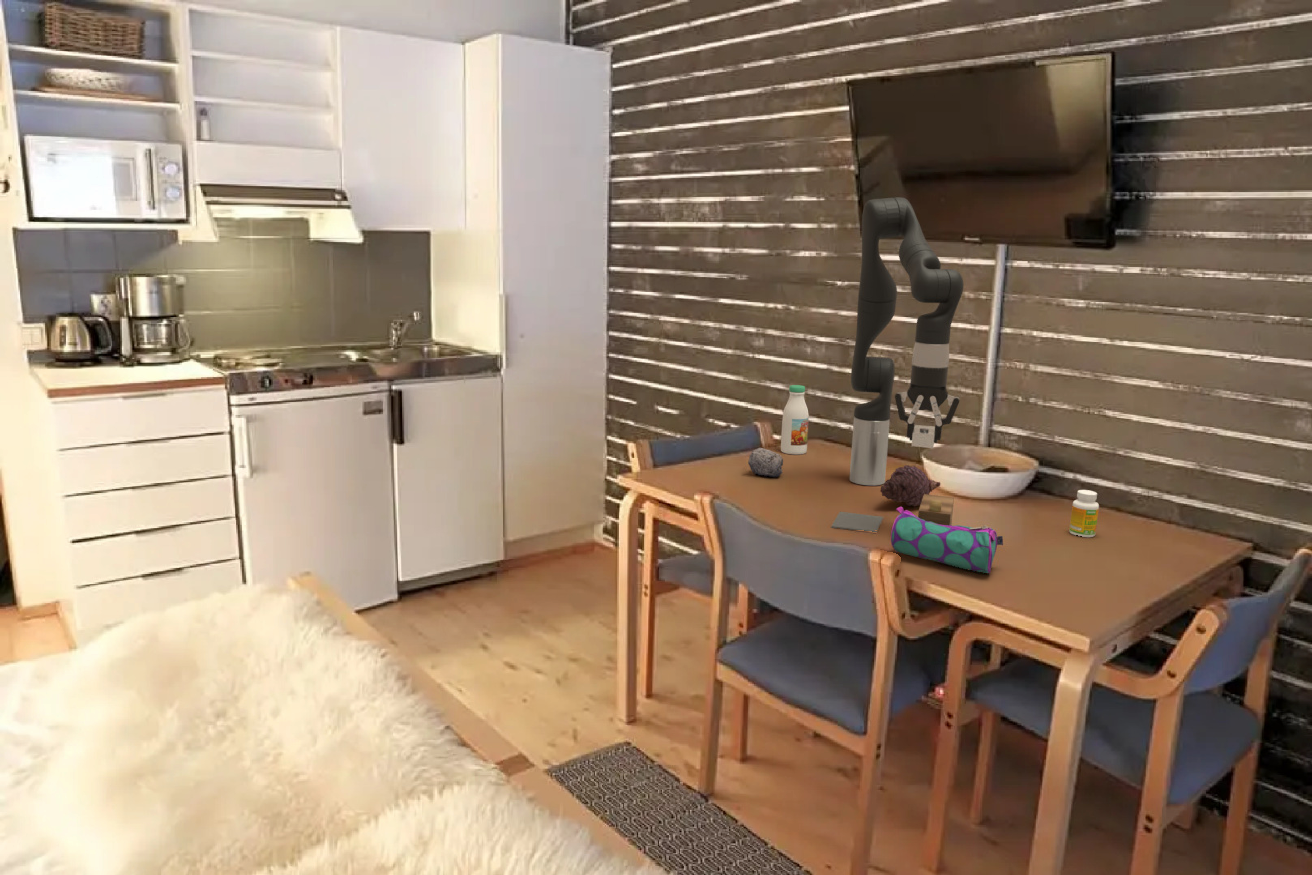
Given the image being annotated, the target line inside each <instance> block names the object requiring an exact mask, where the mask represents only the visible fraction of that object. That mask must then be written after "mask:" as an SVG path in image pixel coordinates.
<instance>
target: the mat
mask: <svg viewBox="0 0 1312 875" xmlns="http://www.w3.org/2000/svg"><path fill="white" fill-rule="evenodd" d="M883 520H884V516H880V515H879V516H878V515H871V514H863V513H862V514H861V513H855V512H854V513H853V512H846V511H839V513H838V515H836V517H835V519H834V521H833V523H832V524H831V526H830V528H831V529H837V528H840V530H845V529H849V530H848V531H853V530H864V531H872V532H877V533H878V531H879V529H880V527H879V526H881V524H882V522H883ZM878 528H879V529H878ZM875 530H878V531H875Z"/></svg>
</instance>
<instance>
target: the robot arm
mask: <svg viewBox="0 0 1312 875" xmlns="http://www.w3.org/2000/svg"><path fill="white" fill-rule="evenodd" d="M862 210H863V211H862V216H861V217H862V218H861V263H860V264H861V266H860V267H861V269H860V277H859V278H860V280H859V287H858V298H857V311H856V313H857V315H856V316H857V317H856V334H855V343H854V349H853V350H854V351H853V358H852V362H851V363H852V364H851V370H850V371H851V374H850V383H851V385H850V386H851V388H852V389H853V390H854V391H856V392H861V393H874V394H875V393H877V394H879V395H878V396H877V397H875V398H874V399H872V400H871V401H870V400H869V401H867V402H864V403H860V404H858V405H856V406H855V407H854V410H853V427H852V439H851V440H852V441H851V453H850V466H849V467H850V468H849V481H850V482H852V483H853V484H856V485H861V486H862V485H863V486H883V485H884V483H885V481H886V474H887V473H886V470H887V461H888V459H887V458H888V446H889V434H890V433H889V432H890V421H891V420H890V419H891V406H892V396H893V386H894V383H895V382H894V381H895V374H896V373H895V371H896V369H895V368H896V366H895V361H894V360H893V358H891V357H885V356H884V357H881V356H867V355H868V352H869V350H870V348H871V346H872V345H873V343H874V342H875V340H876V339H877V337H878V336H880V334H881V333H882V332H883V330H885V329H886V328H887V326H888V325H889V324H890V323H891V321H892V320H893V317H895V313H896V306H897V296H898V287H897V285H896V282H895V280H894V278H893V277H892V275H891V273H890V272H889V270H888V268H887V267H886V265H885V264H884V261H883V259H882V257H881V254H880V249H879V247H880V246H879V242H880V240H882V239H892V238H893V239H894V238H899V237H903V239H902V241H901V243H900V245H899V249H898V259H899V262H900V264H901V266H902V267H903V269H904V270H905V271H906V274H908V278H909V282H910V293H911V296H912V297H913V298H914V300H916V301H917V302H920V303H925V304H938V305H937V308H936V309H935V310H934V311H932V312H929V313H924V314H921V315H920V316H918V317H917V319H916V320H917V321H916V327H915V340H914V346H913V351H912V358H911V371H910V383H909V388H908V389H907V391H903V392H902V391H901V392H900V391H897V392H896V393H895V394H894V399H895V404H896V409H897V414H898V418H899V420H900V421H904V422H906V424H907V426H906V427H907V428H906V437H907V438H909V441H911V442H912V435H913V430H914V427H915V425H916V423H915V419H916V416H917V415H918V412H919V411H924V410H925V411H926V410H927V411H930V412H933V417H934V420H935V425H934V427H935V438H934V444H936V443H938V441H941V438H942V430H943V429H942V428H943V426H945V425H950V424H951V422H952V420H953V418H954V416H955V413H956V411H957V408H958V406H959V403H960V397H959V396H958V395H956V396H953V395H950V394H949V393H948V391H947V383H948V382H947V381H948V372H949V364H950V337H951V327H952V322H953V319H954V318H955V314H956V311H957V308H958V305H959V303H960V302H961V298H962V295H963V291H964V286H965V283H964V280H963V276H962V274H961V272H959V271H958V270H957V269H949V268H947V269H946V268H945V269H944V268H943V269H942V267H941V261H940V259H939V257H938V256H937V254H936V253H935V252H934V250H933V249H932V247H931V246H930V245H929V243H928V242H927V239H926V238H925V236H924V232H923V230H922V227H921V225H920V221H919V220H918V218H917V215H916V213H915V210H914V207H913V205H912V204H911V203H910V201H909V200H908V199H907V198H905V197H899V196H898V197H887V198H885V197H884V198H874V199H873V198H872V199H869V200H867V201H866V203H865V204H864V206H863V209H862ZM907 397H908V398H909V400H910V401H911V403H912V405H913V407H912V409H911V411H910V413H909V415H908V414H907V413H906V411H905V410H906V409H905V405H904V402H906V400H907ZM946 400H947V401H948V403H947V404H948V406H949V409H948V412H947V414H946V416H945V417H942V414H941V408H940V407H941V406H942V405H943V403H945V401H946Z"/></svg>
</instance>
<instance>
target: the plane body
mask: <svg viewBox="0 0 1312 875" xmlns="http://www.w3.org/2000/svg"><path fill="white" fill-rule="evenodd" d="M954 502H955V497H954V496H945V495H938V494H937V495H936V494H930V493H929V494H924V496H923V499H922V502H921V505H919V508H918V513H917V514H918V516H917V517H919V518H920V519H923V520H925V521H930V522H933V523H936V524H939V525H951V526H953V523H952V522H953V515H954V513H953V512H954Z"/></svg>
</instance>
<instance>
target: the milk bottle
mask: <svg viewBox="0 0 1312 875" xmlns="http://www.w3.org/2000/svg"><path fill="white" fill-rule="evenodd" d="M788 389H789V392H788V393H789V398H788V399H787V402H786V405H785V406H784V408H783V413H782V423H781V434H780V435H781V437H780V438H781V439H780V440H781V441H780V451H781V453H784V454H789V455H803V454H806V453H807V452H808V439H809V435H808V434H809V421H810V420H809V414H810V413H809V410H808V407H807V404H806V401H805V394H806V386H805V385H801V384H792V385H789V388H788Z"/></svg>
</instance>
